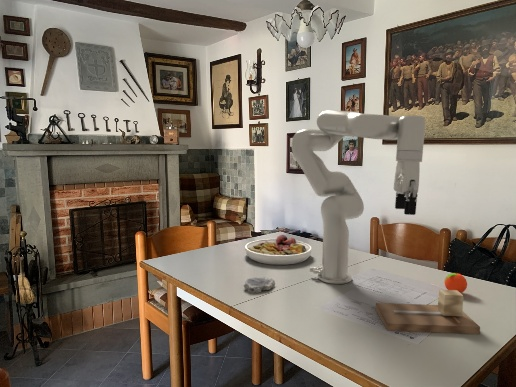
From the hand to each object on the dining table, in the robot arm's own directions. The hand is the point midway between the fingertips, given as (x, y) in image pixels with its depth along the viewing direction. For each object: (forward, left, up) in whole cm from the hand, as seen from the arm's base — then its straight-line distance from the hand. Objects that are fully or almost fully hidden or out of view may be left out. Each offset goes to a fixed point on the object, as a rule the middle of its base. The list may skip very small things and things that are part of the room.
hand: (404, 211), depth 120 cm
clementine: (+21, +9, -30) cm, 37 cm away
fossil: (-46, +8, -30) cm, 56 cm away
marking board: (+3, -14, -29) cm, 32 cm away
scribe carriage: (+10, -14, -27) cm, 32 cm away
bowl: (-40, +48, -30) cm, 70 cm away
